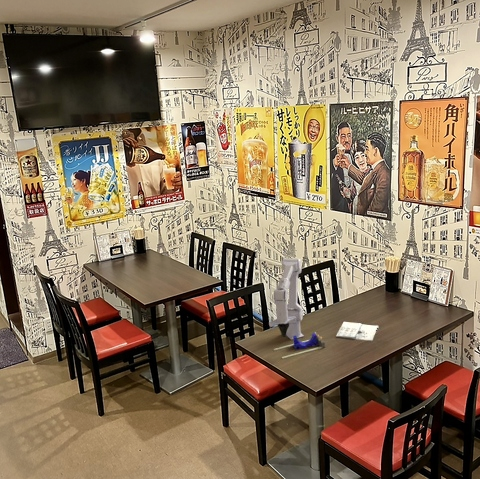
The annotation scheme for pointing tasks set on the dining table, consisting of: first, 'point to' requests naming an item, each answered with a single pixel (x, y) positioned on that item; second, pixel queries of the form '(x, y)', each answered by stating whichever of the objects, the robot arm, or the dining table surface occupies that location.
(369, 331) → the open book
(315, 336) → the cable clip
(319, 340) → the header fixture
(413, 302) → the dining table surface
